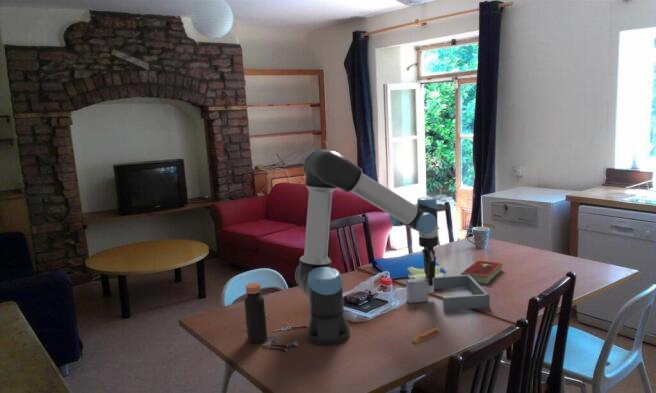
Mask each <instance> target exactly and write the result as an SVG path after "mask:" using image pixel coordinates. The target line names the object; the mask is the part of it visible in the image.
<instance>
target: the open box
mask: <svg viewBox="0 0 656 393" xmlns="http://www.w3.org/2000/svg"><path fill="white" fill-rule="evenodd" d="M455 288H468V289H469V290H470V292H471V293H473V294H469V295H468V294H467V295H454V296H453V295H451V296H442V309H443V311H457V310H459V311H460V310H472V309H486V308H490V293H489V292H487V291H486V290H485V289H484V288H483V287H482V286H481V285H480V283H478V282H476V281H475V280H474V279H473V278H472V277H471V276H470V275H461V274H460V275H459V274H458V275H444V276H443V275H442V276H435V278H434V290H439V289H440V290H441V289H455Z"/></svg>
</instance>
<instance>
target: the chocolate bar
mask: <svg viewBox="0 0 656 393" xmlns="http://www.w3.org/2000/svg"><path fill="white" fill-rule="evenodd" d="M438 334H441V331H440V329H439V327H438V326H436V327H434V328H432V329H429V330H427V331H425V332H423V333H420V334H418V335H416V336H413V338H412V340H411V342H412V343H414V344H419V343H420V342H423V341H424V340H427V339H429V338H431V337H434V336H436V335H438Z"/></svg>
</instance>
